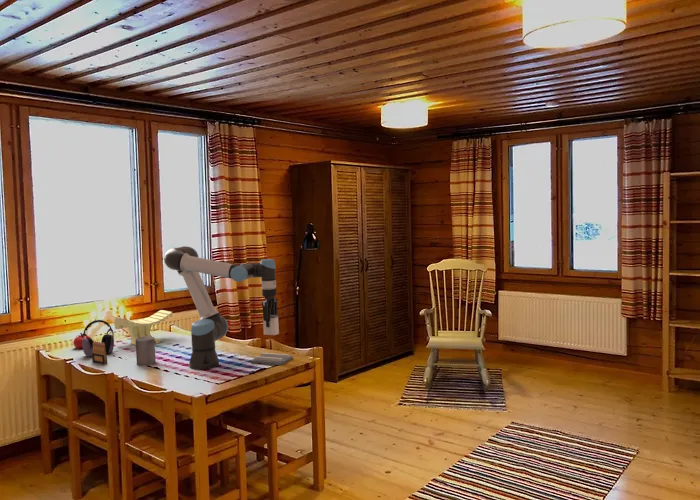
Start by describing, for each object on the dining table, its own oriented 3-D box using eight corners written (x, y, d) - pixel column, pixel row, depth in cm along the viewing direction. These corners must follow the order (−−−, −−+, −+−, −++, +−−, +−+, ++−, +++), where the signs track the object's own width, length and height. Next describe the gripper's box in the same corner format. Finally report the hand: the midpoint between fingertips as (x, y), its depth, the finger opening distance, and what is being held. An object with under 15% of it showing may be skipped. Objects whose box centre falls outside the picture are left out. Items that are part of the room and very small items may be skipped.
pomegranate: (93, 347, 352) (92, 332, 351) (75, 350, 346) (74, 335, 345) (90, 345, 360) (89, 330, 359) (72, 347, 354) (71, 332, 354)
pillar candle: (136, 362, 315) (134, 335, 313) (155, 359, 318) (153, 333, 317) (137, 366, 306) (135, 338, 304) (156, 364, 309) (155, 336, 308)
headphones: (116, 352, 337) (114, 318, 336) (87, 358, 325) (85, 323, 324) (109, 350, 344) (107, 317, 342) (80, 356, 332) (78, 321, 330)
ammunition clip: (92, 362, 318) (91, 340, 317) (95, 361, 319) (94, 339, 318) (104, 364, 312) (103, 342, 311) (107, 363, 313) (106, 341, 312)
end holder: (280, 365, 300) (280, 360, 300) (250, 362, 307) (250, 357, 306) (292, 358, 313) (292, 353, 313) (263, 356, 320) (263, 351, 320)
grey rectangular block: (275, 335, 306) (274, 316, 305) (263, 334, 308) (262, 316, 308) (278, 333, 310) (278, 314, 309) (267, 333, 312) (266, 314, 311)
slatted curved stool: (160, 336, 379) (159, 309, 377) (173, 339, 368) (172, 311, 367) (115, 345, 357) (114, 316, 356) (128, 349, 346) (126, 319, 345)
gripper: (267, 290, 298) (269, 335, 300) (282, 286, 314) (284, 328, 316) (254, 290, 301) (256, 335, 302) (270, 286, 317) (272, 328, 318)
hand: (271, 331), depth 309 cm, fingers closed on grey rectangular block, 4 cm apart
